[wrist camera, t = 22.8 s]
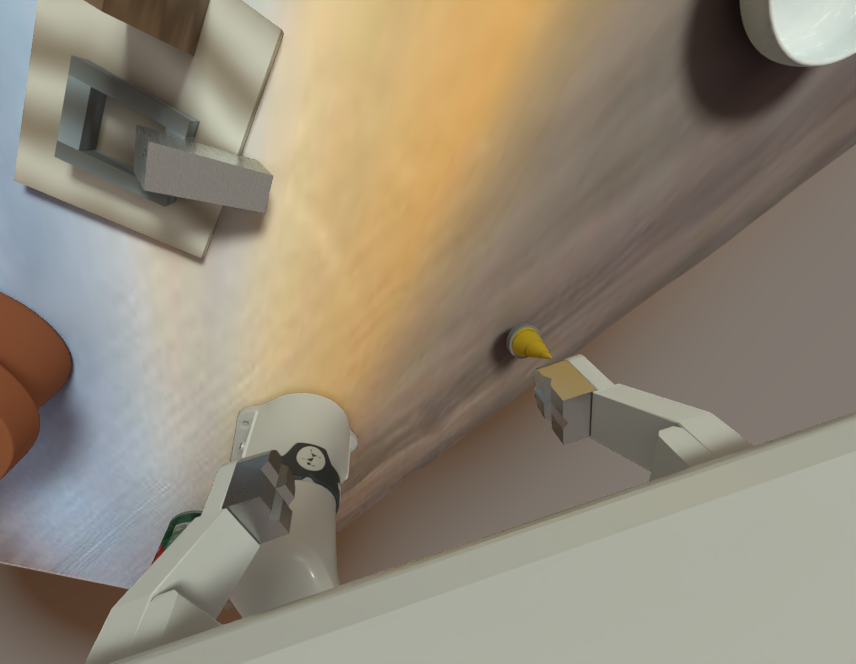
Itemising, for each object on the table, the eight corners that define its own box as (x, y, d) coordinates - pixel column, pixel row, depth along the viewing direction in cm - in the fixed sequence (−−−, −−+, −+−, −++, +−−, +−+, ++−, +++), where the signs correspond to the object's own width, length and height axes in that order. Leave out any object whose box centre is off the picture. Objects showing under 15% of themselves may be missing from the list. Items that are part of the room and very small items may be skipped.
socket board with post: (205, 254, 41) (139, 313, 28) (26, 178, 34) (-173, 208, 21) (283, 33, 33) (242, -33, 20) (69, -122, 26) (-208, -375, 13)
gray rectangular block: (133, 171, 31) (249, 196, 39) (144, 190, 29) (264, 213, 37) (136, 124, 29) (257, 160, 37) (148, 141, 27) (273, 175, 35)
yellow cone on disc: (490, 339, 54) (527, 366, 46) (510, 310, 54) (552, 332, 45) (512, 354, 57) (551, 382, 48) (532, 327, 56) (575, 351, 47)
